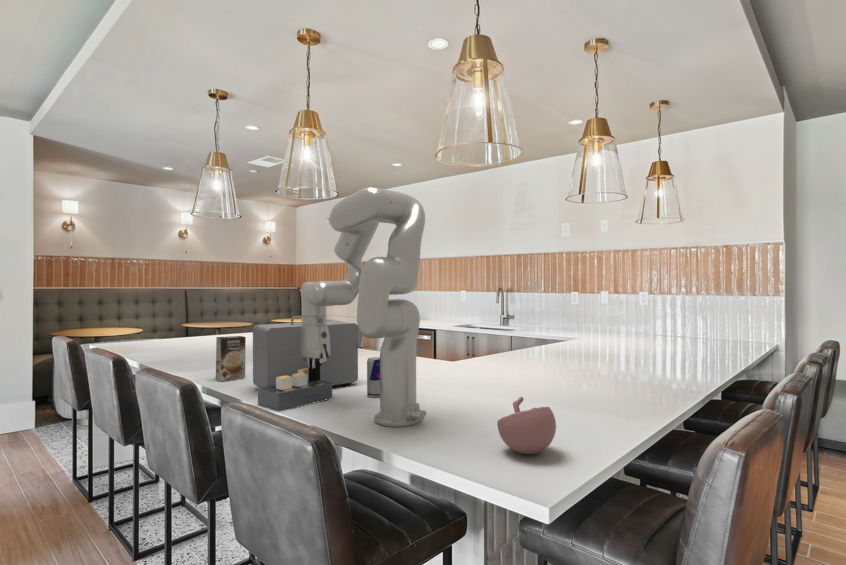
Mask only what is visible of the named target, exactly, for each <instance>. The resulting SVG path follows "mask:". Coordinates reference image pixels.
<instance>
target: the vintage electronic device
mask: <svg viewBox="0 0 846 565" xmlns="http://www.w3.org/2000/svg"><path fill="white" fill-rule="evenodd" d="M295 319H302V315H294V316H292V317H291V318H290V322H286V323H270V324H269V323H267V324H255V325H253V327H252V383H253V385H255V386H256V387H258V388H261V387H267V386H272V385H276V378H277V377H280V376H285V375H286V376H291V377H292V375H293V374H297V373H298V370H300V369H306V368H307V369H309V368H308V367H307V362H306V361H304V360H303V356H301V354H300V336H301V328H302V321H301V322H294V320H295ZM326 326H328V330H329V336H330V351H331V354H330V357H328V358H326V359H327V362H326V363H322V366H321V367H320V380H322V381H327V382H332V386H337V385H343V386H344V385H345V386H344V387H350V386H351V383H356V382H357V381H358V378H359V340H358V339H359V328H358V324H357V323H353V322H347V321H340V320H326ZM349 385H350V386H349Z"/></svg>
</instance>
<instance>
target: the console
mask: <svg viewBox="0 0 846 565" xmlns="http://www.w3.org/2000/svg"><path fill="white" fill-rule="evenodd" d="M330 398H332V399H333V385H332V382H327V381H322V380H318V381H308V385H305V386H300V387H297V386H292V388H290V389H285V390H279V389H276V385H272V386H267V387H261V388H260V387H258V388H257V406H259V405H260V406H259V407H262V408H267V409H269V408H270V410H273V409H274V410H273V411H276V410H277V411H276V412H283V411H285V410H286V409H287V410H290V408H291V409H294V408H293V407H295V408H298V407H297V406H299V407H302V406H301V405H303V406H306V405H305V404H308V405H310V404H309V403H312V404H314V403H313V402H316V403H318V402H317V401H320V402H322V401H321V400H324V401H326V400H325V399H329V400H331V399H330ZM282 410H283V411H282Z"/></svg>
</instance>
